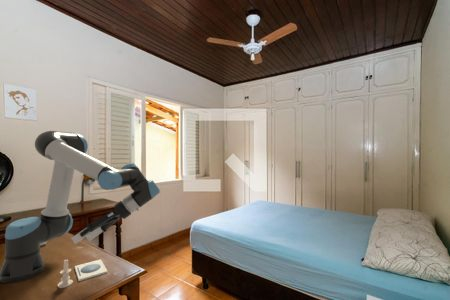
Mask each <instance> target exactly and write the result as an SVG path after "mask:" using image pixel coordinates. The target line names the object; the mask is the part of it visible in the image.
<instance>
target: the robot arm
mask: <svg viewBox="0 0 450 300" xmlns="http://www.w3.org/2000/svg"><path fill="white" fill-rule="evenodd" d="M88 146H89V145H88V142H87V140H86V138H85V136H83V135H82V134H80V133H76V132H71V131H69V132H68V131H57V130H47V131H45V132H42V133H40V134H38V136H37V137H36V139H35V141H34V148H35V150H36V152H37V153H38V154H39V155H41V156H43V158H46V159H48V160H51V161H54V163H53V164H54V165H53V169H52V174H51V180H50V185H49V189H48V195H47V201H46V205H45V208H43V209H42V210H41V212H40V214H39V215H40V216H27V217H26V218H25V217H24V218H23V217H22V218H21V219H17V220H14V221H12V222H11V223H9V224H8V225H7V226H6V228H5V234H4V238H5V240H4V261H3V263H2V266H1V268H0V283H2V284H8V283H9V284H10V283H18V282H22V281H26V280H28V279H31V278H34V277H35V276H38V275H39V274H41V273H42V272H43V271H44V270H45V261H44V259H43V257H42V254H41V245H40V244H41V243H44V242H46V241H47V242H49V241H51V240H53V239H56V238H60V237H62V236H64V235H65V234H67V233H69V231H70V230H71V229H72V227H73V225H74V224H73V223H74V219H73V218H72V217H73V216H72V214H71V213H70V210H69V209H68V205H69V204H68V203H69V198H70V194H71V189H72V183H73V180H74V179H73V178H74V174H75V171H77V172H79V173H81V174H83V175H85V176H87V177H89V178H91V179H93V180H95V181H96V182H97V183H98V185H99V187H100V188H101V189H102V190H106V191H110V190H112V191H113V190H117V189H120V188H124V187H128V186H129V187H130V189H131V190H132V191H133V192H132V193H130V194H128V195H127V196H125V197H124V198H123V199H122V200H120V201H119V202H116V204H114V206H113V207H114V211H112V210H110V211H109V212H107V213H105V214H104V215H103V216H100V217H99V218H97V219H95V220H93V221H92V222H90V223H87V224H86V227H85V228H84V229H82V230H81V231H79V232H78V233H76V234H75V235H74V236H72V237H71V240H72V242H73V243H74V245H76V244H78V243H79V242H81V241H82V240H83V239H85V238H86V239H87V241H88V242H90V241H92V240H93V239H94V238H96V237H98V236H99V235H100V234H102V233H103V232H104V233H106V232H107V230H109V229H110V228H111V226H113V225H114V224H115V223H117V222H118V221H119V220H120V219H127V218H128V217H129V216H131V215H132V213H134V212H136V211H139V210H140V208H142V206H144V205H145V204H148V202H150V201H151V200H153V199H154V198H155V197H156V196H157V195H159V194H160V192H161V190H160V188H159V187H158V185H157V183H155V182H154V180H153V179H150V180H148V179H147V178H146V177H145V176H144V174H143V173H142V171H141V170H140V168H139V167H138V165H136V164H135V163H134V162H130V163H127V164H125V165H123V166H122V167H121V168H120V169H117V168H114V167H113V166H111V165H108V164H106V163H104V162H102V161H100V160H98V159H96V158H94V157H92V156H91V155H88V154H86V153H87V151H88Z"/></svg>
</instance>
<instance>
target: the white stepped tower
mask: <svg viewBox="0 0 450 300" xmlns="http://www.w3.org/2000/svg"><path fill="white" fill-rule="evenodd" d="M71 271H72V268H69V259H67V258H66V259H64V260H63V269H62V270H60V271H59V273H60V274H61V276H62V277H61V278H60V281H59V283H58V284H57V287H58V288H59V289H63V288H67V287H70V286H72V285H73V283H74V280H73V279H71V276H70V274H69V273H70V272H71Z"/></svg>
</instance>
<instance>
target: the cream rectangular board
mask: <svg viewBox="0 0 450 300" xmlns="http://www.w3.org/2000/svg"><path fill="white" fill-rule="evenodd" d="M74 271H75V274H76V277H77V280H78V282H81V281H85V280H88V279H91V278H95V277H99V276H101V275H104V274H108V272H109V271H108V269H107V267H106V265H105V264H104V262H103V261H102V259H96V260H93V261H89V262H86V263H81V264H77V265H74Z"/></svg>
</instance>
